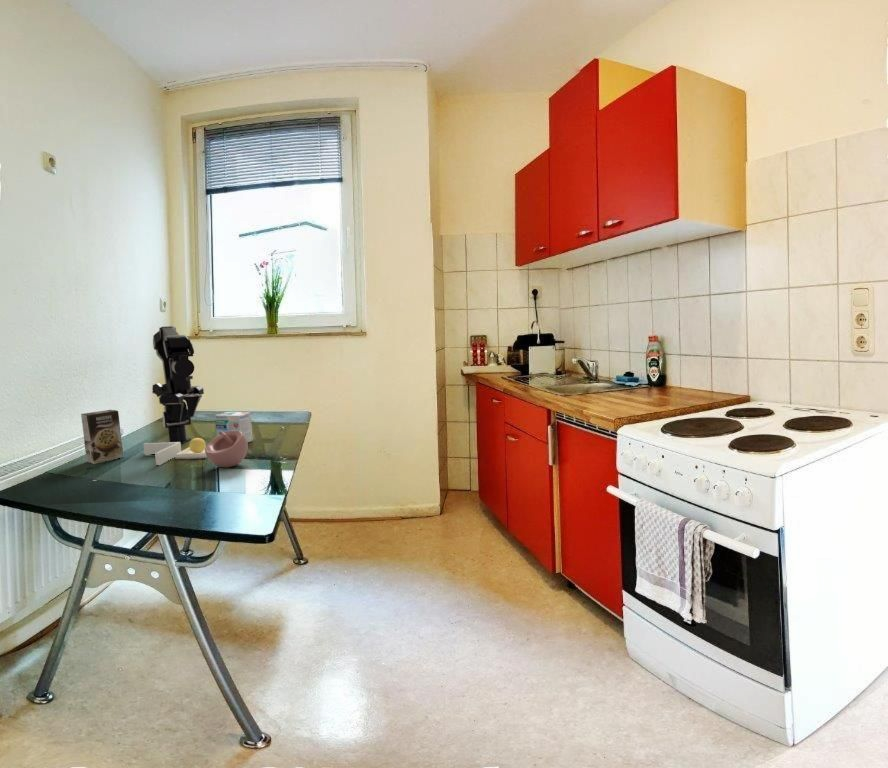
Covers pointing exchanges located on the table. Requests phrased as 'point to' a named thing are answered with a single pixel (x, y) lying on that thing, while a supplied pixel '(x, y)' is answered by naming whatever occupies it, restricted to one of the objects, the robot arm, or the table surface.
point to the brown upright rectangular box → (102, 436)
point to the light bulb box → (235, 423)
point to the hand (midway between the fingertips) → (185, 419)
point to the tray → (190, 454)
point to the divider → (162, 450)
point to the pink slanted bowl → (227, 449)
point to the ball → (197, 445)
